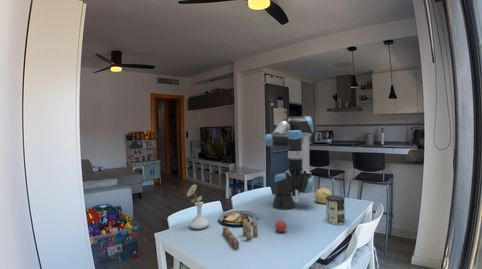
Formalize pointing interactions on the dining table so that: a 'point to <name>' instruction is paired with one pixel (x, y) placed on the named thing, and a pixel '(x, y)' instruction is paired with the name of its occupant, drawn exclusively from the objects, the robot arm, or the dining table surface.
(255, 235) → the front pin
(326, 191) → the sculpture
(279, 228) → the ball
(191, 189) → the flower in vase
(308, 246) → the dining table surface
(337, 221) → the coffee can
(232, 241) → the back wall
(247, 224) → the pin
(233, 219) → the food plate
